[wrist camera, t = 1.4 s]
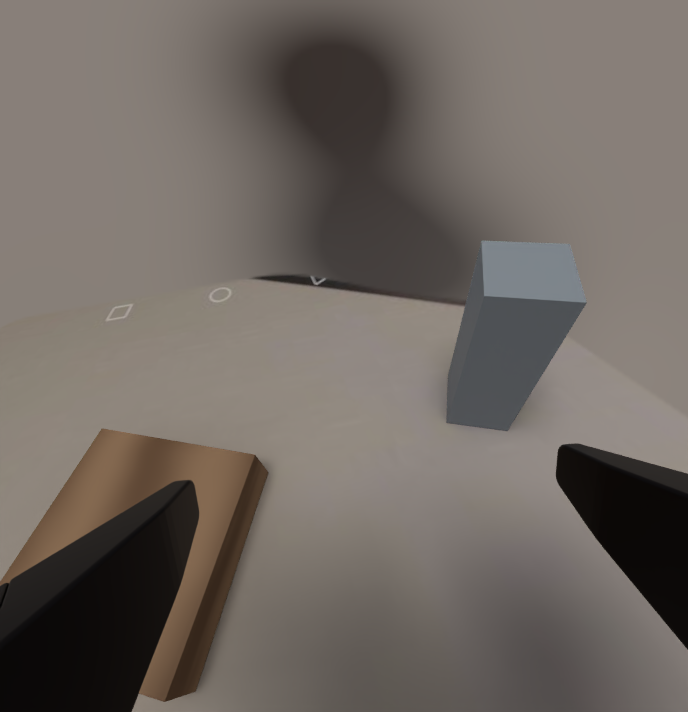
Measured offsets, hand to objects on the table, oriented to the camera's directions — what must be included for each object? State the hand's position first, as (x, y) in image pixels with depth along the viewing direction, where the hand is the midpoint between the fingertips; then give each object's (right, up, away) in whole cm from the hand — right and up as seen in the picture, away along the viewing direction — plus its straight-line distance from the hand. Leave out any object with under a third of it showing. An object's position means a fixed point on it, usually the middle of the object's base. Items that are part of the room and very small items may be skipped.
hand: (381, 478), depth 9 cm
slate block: (+9, 0, +17) cm, 19 cm away
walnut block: (-12, -9, +13) cm, 20 cm away
